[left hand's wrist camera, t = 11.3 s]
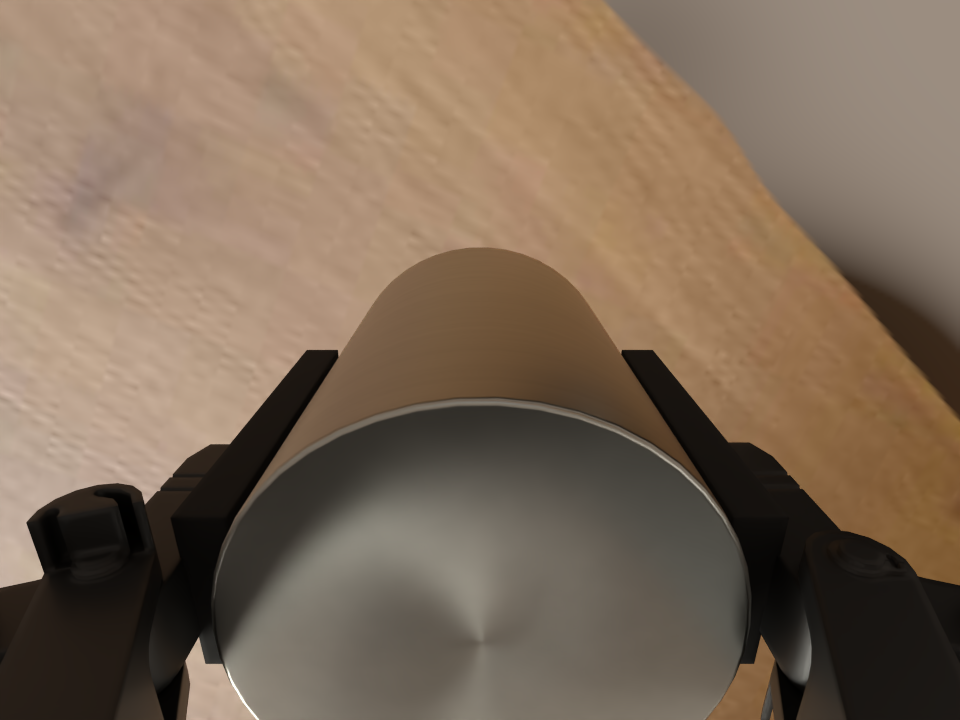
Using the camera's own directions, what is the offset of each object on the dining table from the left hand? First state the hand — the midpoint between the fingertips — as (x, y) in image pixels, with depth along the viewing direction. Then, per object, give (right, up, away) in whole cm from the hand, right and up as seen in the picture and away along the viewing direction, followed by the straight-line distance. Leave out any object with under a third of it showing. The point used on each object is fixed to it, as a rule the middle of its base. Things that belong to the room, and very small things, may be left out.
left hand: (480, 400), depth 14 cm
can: (0, +1, +2) cm, 2 cm away
